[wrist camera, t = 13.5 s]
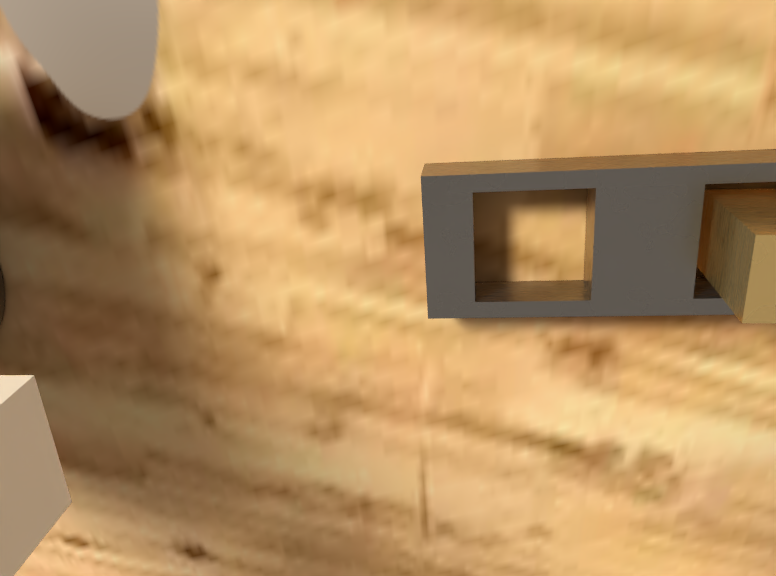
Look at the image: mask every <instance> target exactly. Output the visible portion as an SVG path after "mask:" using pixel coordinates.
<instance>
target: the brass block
mask: <svg viewBox="0 0 776 576" xmlns="http://www.w3.org/2000/svg"><path fill="white" fill-rule="evenodd" d="M697 267H698V268H699V269H700V271H701V272H702V273H703V275H704V276H705V277H706V278H707V280H708V281H709V282H710V283H711V285H712V286H713V287H714V288H715V290H716V291H717V292H718V294H719V295H720V296H721V297H722V299H723V300H724V301H725V302H726V304H727V305H728V306H729V308H730V309H731V310H732V311H733V313H734V314H735V315H736V316H737V318H738V319H739V320H740V322H741V323H767V324H776V188H769V189H716V190H705V192H704V201H703V210H702V220H701V229H700V239H699V248H698V258H697Z"/></svg>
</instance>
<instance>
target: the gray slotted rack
mask: <svg viewBox="0 0 776 576" xmlns="http://www.w3.org/2000/svg"><path fill="white" fill-rule="evenodd" d="M752 182H776V149H767V150H743V151H719V152H695V153H671V154H647V155H624V156H600V157H576V158H552V159H528V160H504V161H480V162H456V163H432V164H425V165H424V168H423V171H422V175H421V188H422V207H423V226H424V246H425V265H426V284H427V304H428V318H505V317H586V316H666V315H735V314H734V313H733V311H732V310H731V309H730V308H729V306H728V305H727V304H726V302H725V301H724V300H723V299H722V297H721V296H720V295H719V294H718V292H717V291H716V290H715V288H714V287H713V286H712V285H711V283H710V282H709V281H708V280H707V278H695V277H696V267H697V258H698V248H699V239H700V229H701V220H702V210H703V201H704V191H705V184H724V183H752ZM585 188H587V212H586V237H585V262H584V280H573V281H521V282H475V251H474V208H473V193H474V192H501V191H529V190H557V189H585Z"/></svg>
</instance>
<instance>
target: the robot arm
mask: <svg viewBox="0 0 776 576" xmlns="http://www.w3.org/2000/svg"><path fill="white" fill-rule="evenodd" d="M4 306H5V291H4V282H3V277H2V273H1V269H0V324H1V321H2V318H3V313H4ZM71 502H72V500H71V497H70V494H69V490H68V487H67V484H66V480H65V477H64V473H63V470H62V467H61V463H60V460H59V457H58V453H57V450H56V447H55V443H54V440H53V436H52V433H51V430H50V426H49V423H48V420H47V416H46V413H45V410H44V406H43V403H42V399H41V396H40V393H39V389H38V386H37V383H36V379H35V376H34V375H0V576H14V575H15V573H16V572H17V571H18V570H19V568H20V567H21V566H22V565H23V563H24V562H25V561H26V559H27V558H28V557H29V556H30V554H31V553H32V552H33V551H34V549H35V548H36V547H37V546H38V544H39V543H40V542H41V540H42V539H43V538H44V537H45V535H46V534H47V533H48V532H49V530H50V529H51V528H52V527H53V525H54V524H55V523H56V521H57V520H58V519H59V518H60V516H61V515H62V514H63V513H64V511H65V510H66V509H67V508H68V506H69V505H70V504H71Z"/></svg>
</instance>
